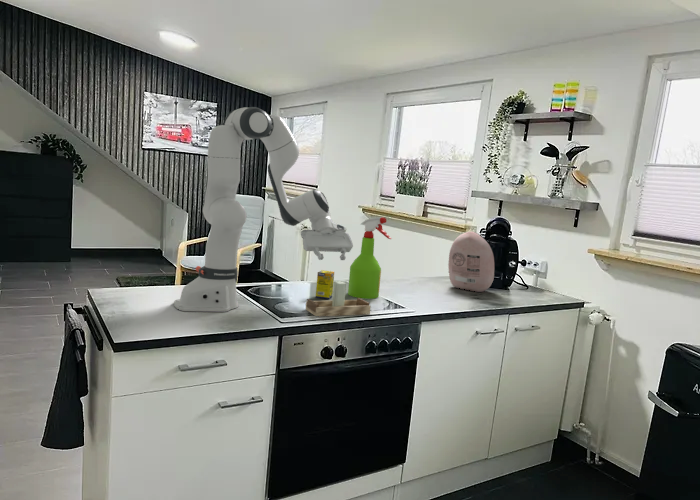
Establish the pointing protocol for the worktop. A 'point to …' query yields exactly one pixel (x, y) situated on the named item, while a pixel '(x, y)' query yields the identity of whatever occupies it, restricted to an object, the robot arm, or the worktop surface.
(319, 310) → the wooden tray
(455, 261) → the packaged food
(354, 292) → the spray bottle
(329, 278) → the supplement box
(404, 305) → the worktop surface
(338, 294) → the pale grey-green block
